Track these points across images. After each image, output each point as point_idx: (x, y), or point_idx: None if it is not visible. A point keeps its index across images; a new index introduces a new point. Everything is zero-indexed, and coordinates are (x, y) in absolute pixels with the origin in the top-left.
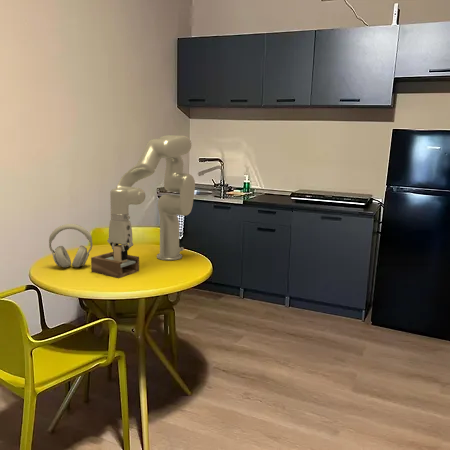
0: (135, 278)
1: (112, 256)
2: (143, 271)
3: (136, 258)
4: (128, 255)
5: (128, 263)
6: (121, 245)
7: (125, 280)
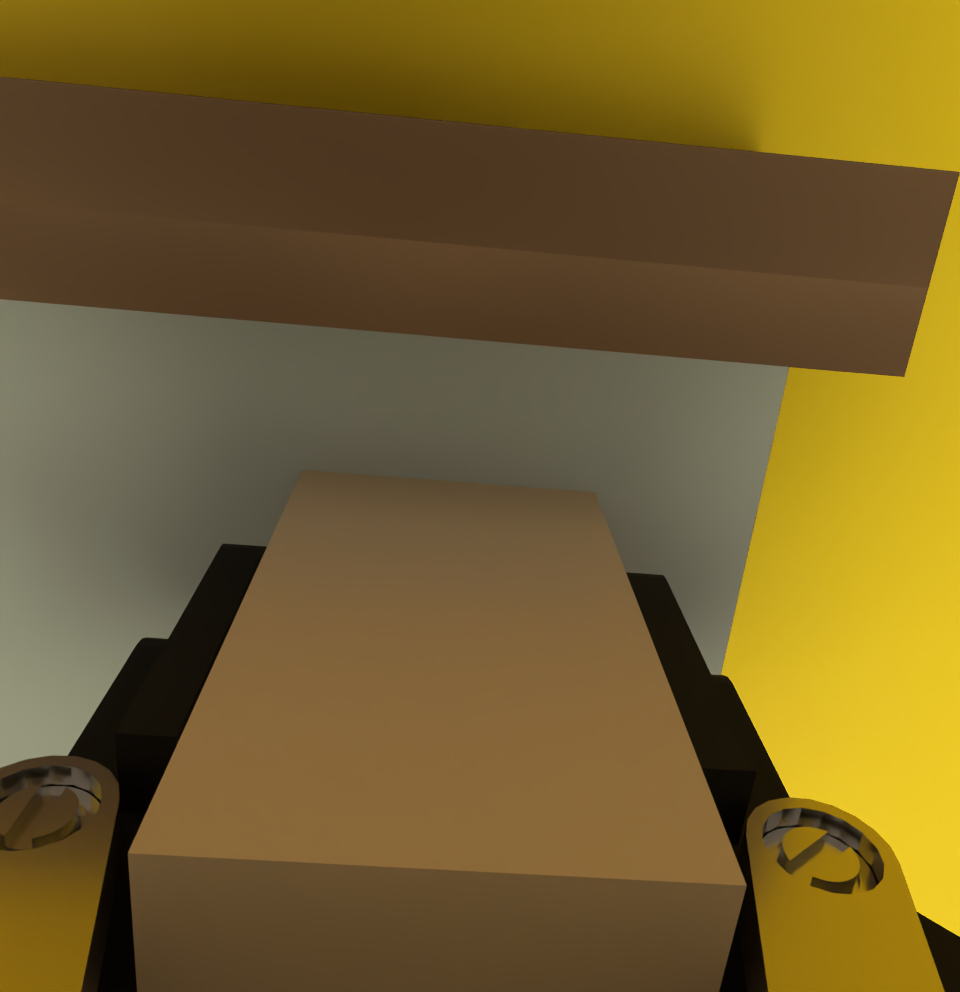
0: (937, 636)
1: None
2: (867, 108)
3: (900, 333)
4: (434, 209)
5: (730, 602)
6: (370, 951)
7: (820, 800)
